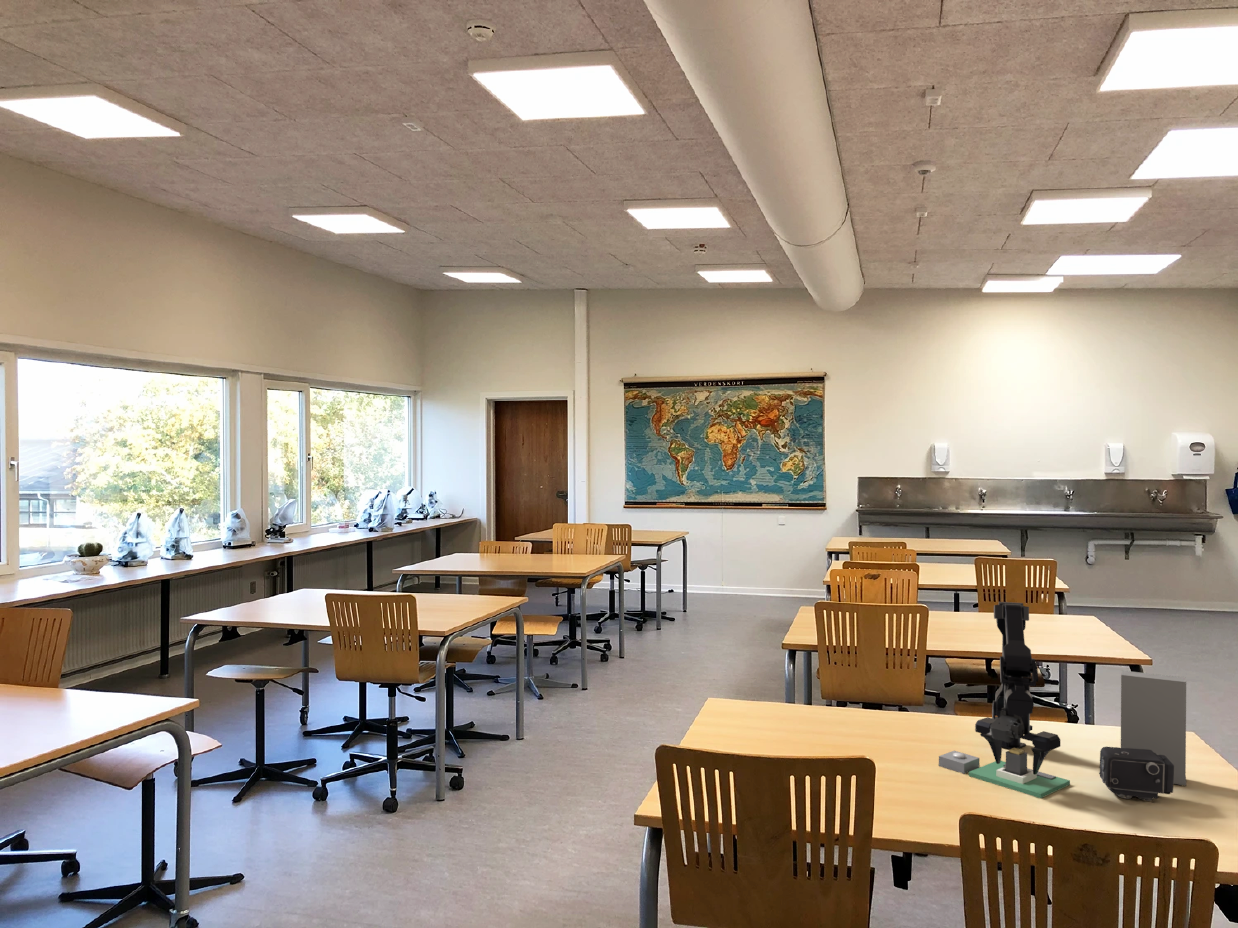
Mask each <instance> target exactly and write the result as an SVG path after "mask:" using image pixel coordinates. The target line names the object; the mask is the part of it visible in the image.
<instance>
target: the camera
mask: <svg viewBox="0 0 1238 928" xmlns="http://www.w3.org/2000/svg"><path fill="white" fill-rule="evenodd" d="M1098 775H1099V778H1100V780H1101V781H1102V783H1103V784H1104V785H1105V786H1106V788H1107V789H1108V790H1109V791H1110V792H1111V793H1113V794H1114V795H1116V796H1118V797H1119V798H1122V799H1128V800H1129V799H1132V798H1133V797H1137V798H1138V799H1140V800H1143V801H1147V802H1148V801H1149V802H1150V801H1153V800H1154V799H1158V797H1159V794H1163V795H1171V794H1173V793H1174V784H1173V781H1174V765H1173V764H1172V762H1171V761H1170V760H1169V759H1168V758H1167V757H1166V756H1165V755H1157V754H1156V753H1154V752H1153V751H1152V750H1147V749H1132V748H1121V747H1119V746H1115V747H1113V746H1103V747H1102V748H1100V751H1099V772H1098Z"/></svg>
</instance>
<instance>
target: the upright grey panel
mask: <svg viewBox="0 0 1238 928" xmlns="http://www.w3.org/2000/svg"><path fill="white" fill-rule="evenodd" d="M1186 742H1187V679H1186V677H1185V676H1174V675H1165V674H1157V673H1156V674H1155V673H1147V672H1146V673H1145V672H1138V671H1128V670H1121V675H1120V748H1132V749H1147V750H1152V751H1153V752H1154V753H1156V754H1157V755H1165V756H1166V757H1167V758H1168V759H1169V760H1170V761H1171V762H1172V764H1173V765H1174V781H1173V785H1179V786H1181V785H1184V786H1187V777H1186V776H1187V775H1186V773H1187V772H1186V769H1187V767H1186V764H1187V763H1186V762H1187V753H1186V752H1187V750H1186V749H1187V748H1186V747H1187V745H1186V744H1187V743H1186Z"/></svg>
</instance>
